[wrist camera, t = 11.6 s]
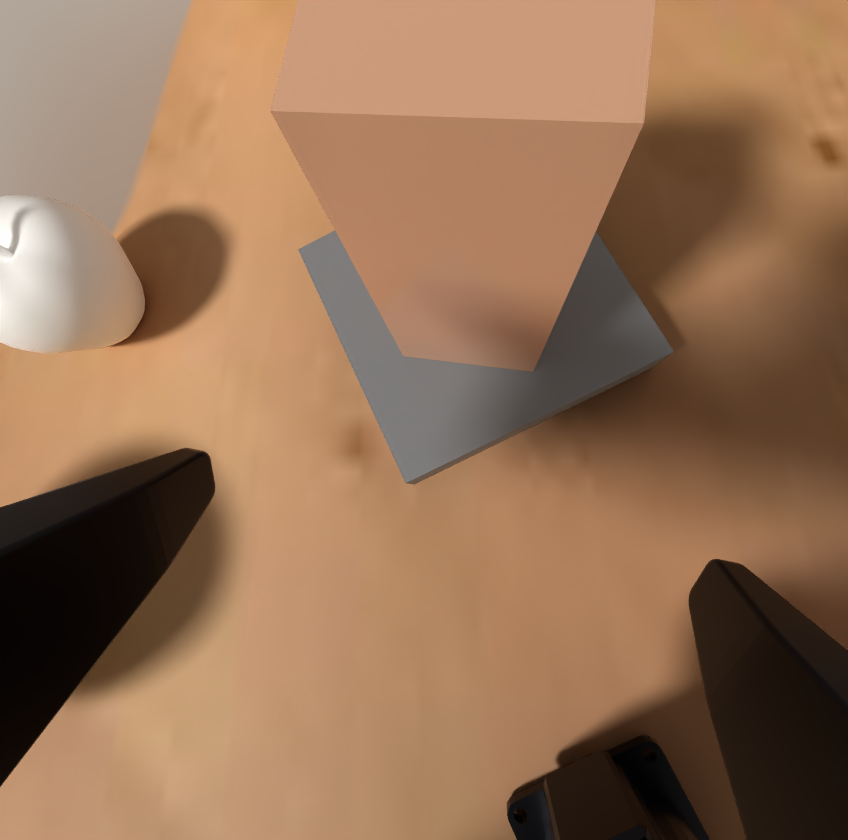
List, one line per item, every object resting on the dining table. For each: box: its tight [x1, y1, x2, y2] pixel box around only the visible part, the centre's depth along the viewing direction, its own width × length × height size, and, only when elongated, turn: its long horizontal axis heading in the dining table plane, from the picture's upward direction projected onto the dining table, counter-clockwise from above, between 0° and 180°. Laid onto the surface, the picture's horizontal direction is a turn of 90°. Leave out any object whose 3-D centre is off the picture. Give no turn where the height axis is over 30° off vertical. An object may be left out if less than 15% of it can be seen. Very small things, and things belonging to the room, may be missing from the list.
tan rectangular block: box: [271, 0, 656, 372], centre depth 12 cm, size 6×6×12 cm
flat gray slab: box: [298, 231, 674, 484], centre depth 20 cm, size 12×12×3 cm
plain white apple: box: [0, 195, 145, 353], centre depth 20 cm, size 7×7×8 cm
